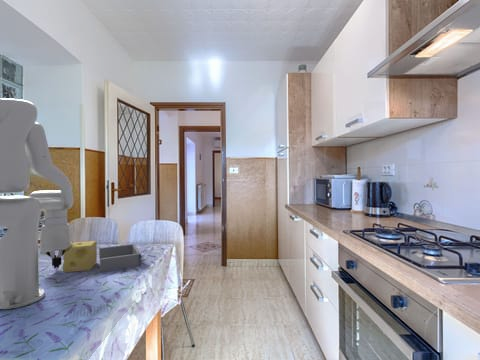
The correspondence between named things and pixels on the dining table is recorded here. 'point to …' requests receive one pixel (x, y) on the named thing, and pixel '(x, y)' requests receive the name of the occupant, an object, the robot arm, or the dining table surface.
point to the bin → (119, 257)
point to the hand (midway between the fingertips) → (56, 267)
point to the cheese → (80, 256)
